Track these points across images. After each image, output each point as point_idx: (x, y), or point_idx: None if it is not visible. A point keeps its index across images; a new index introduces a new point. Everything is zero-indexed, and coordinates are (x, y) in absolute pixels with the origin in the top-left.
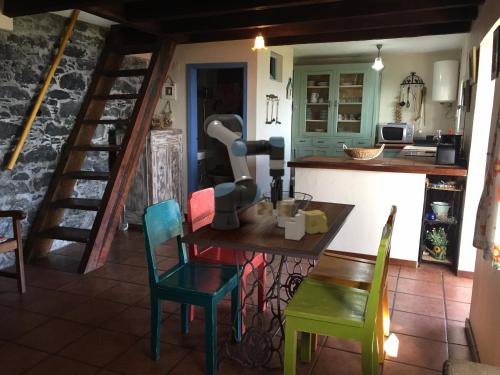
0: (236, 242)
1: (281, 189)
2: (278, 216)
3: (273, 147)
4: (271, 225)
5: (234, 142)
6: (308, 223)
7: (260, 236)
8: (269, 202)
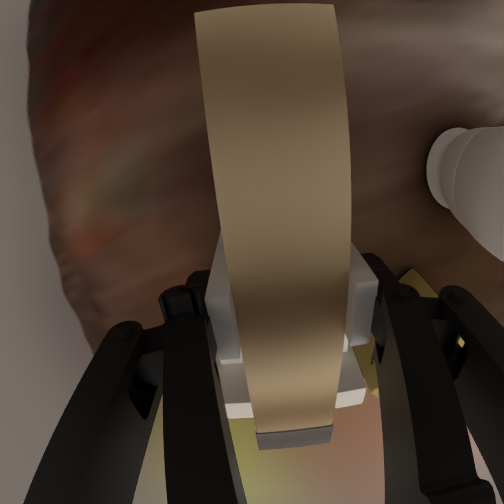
0: (46, 89)
1: (483, 445)
2: (464, 151)
3: None
4: (443, 93)
5: None
6: (370, 349)
7: (191, 122)
8: (336, 178)
